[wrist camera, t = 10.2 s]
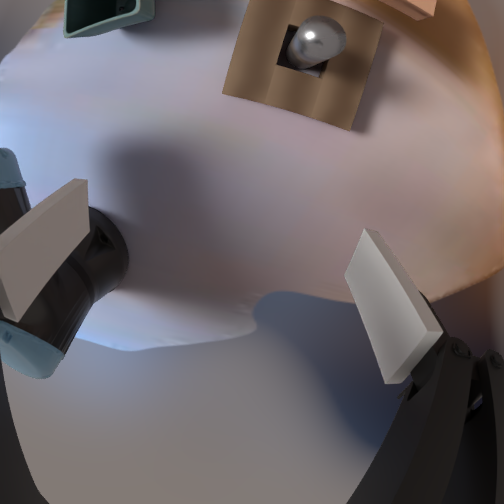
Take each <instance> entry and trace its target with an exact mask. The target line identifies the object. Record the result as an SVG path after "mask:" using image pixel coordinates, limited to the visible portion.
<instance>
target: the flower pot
mask: <svg viewBox="0 0 504 504" xmlns="http://www.w3.org/2000/svg"><path fill="white" fill-rule="evenodd" d="M122 7H123V8H124V9H123V10H122V11H121V10H120V9H121V8H122ZM154 17H155V0H65V8H64V30H63V34H64V38H76V37H90V36H96V35H100V34H103V33H106V32H109V31H112V30H116V29H119V28H122V27H126V26H129V25H133V24H137V23H141V22H146V21H150V20H152V19H153V18H154Z"/></svg>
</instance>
